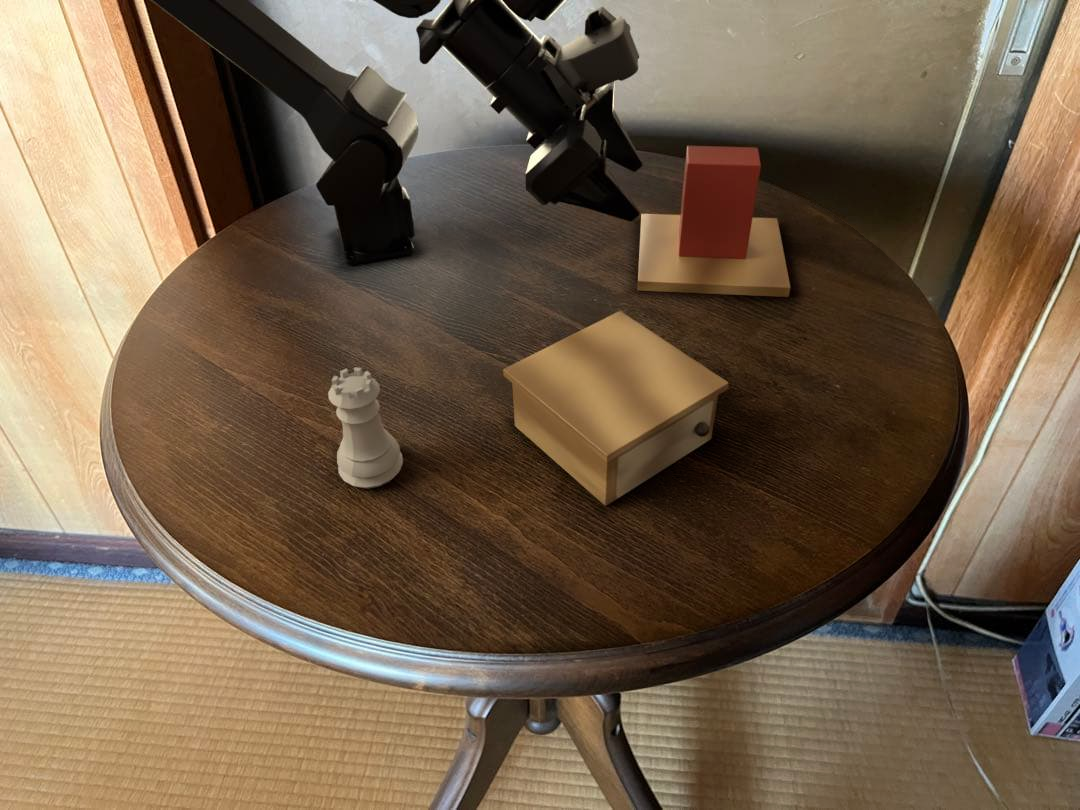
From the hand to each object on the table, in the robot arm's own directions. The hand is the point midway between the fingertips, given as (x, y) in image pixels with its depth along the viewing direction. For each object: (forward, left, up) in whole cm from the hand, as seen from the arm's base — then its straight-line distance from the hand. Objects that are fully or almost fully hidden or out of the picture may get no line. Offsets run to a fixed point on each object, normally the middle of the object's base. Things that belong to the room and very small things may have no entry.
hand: (637, 191), depth 73 cm
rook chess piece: (-28, -20, -7) cm, 35 cm away
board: (+6, -3, -6) cm, 10 cm away
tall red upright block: (+6, -3, -5) cm, 9 cm away
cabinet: (-11, -22, -6) cm, 25 cm away
